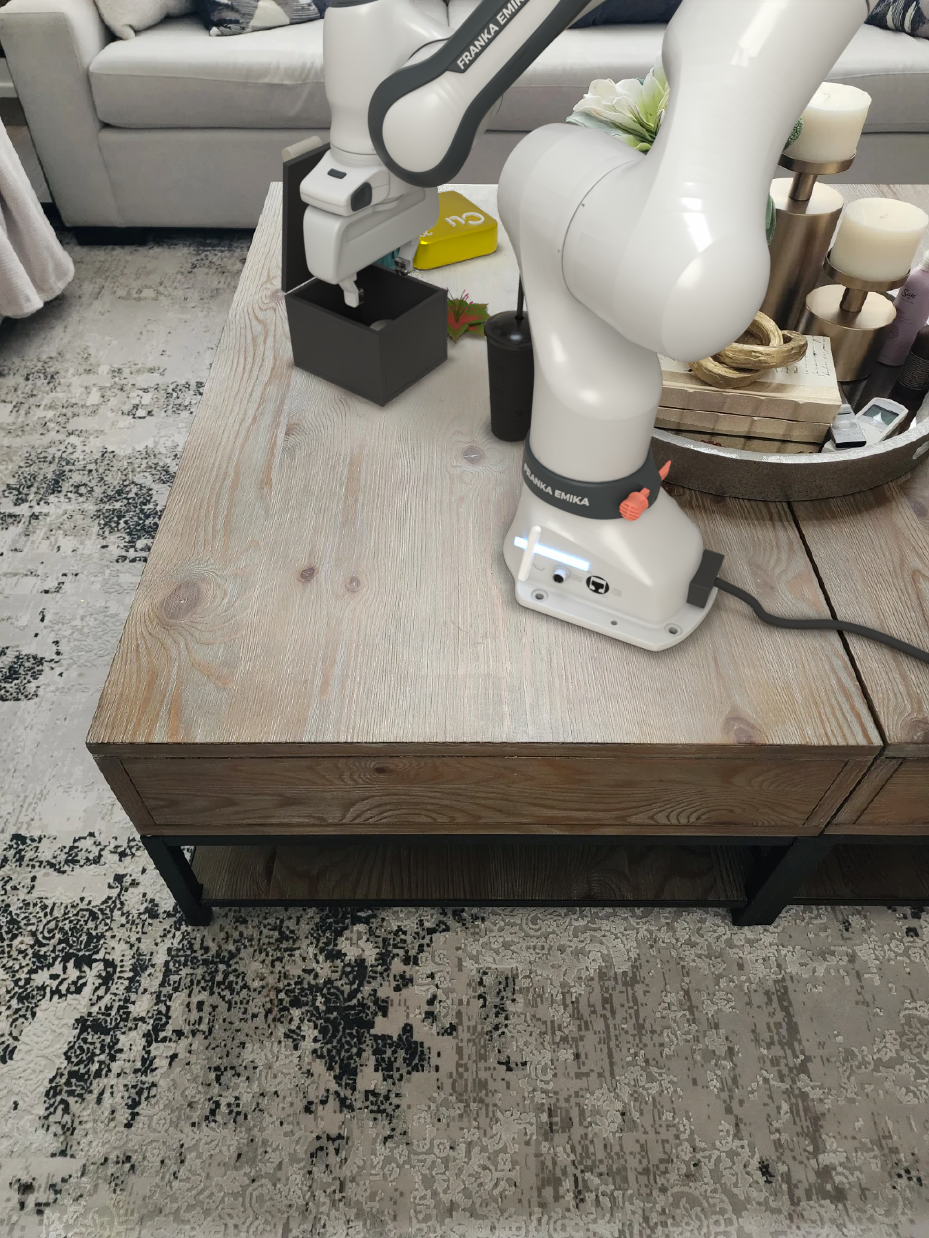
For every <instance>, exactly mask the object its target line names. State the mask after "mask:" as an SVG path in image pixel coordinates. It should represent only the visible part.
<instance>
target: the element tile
mask: <svg viewBox="0 0 929 1238" xmlns="http://www.w3.org/2000/svg"><path fill="white" fill-rule="evenodd" d="M438 196H439V217H438V220H437V223H436V225H435V226H434V227H433V228H431V229H429V230H427V231H426V232H424V233H422V234H421V235H419V244H418V247H417V250H416V252H415V255H414V258H413V268H415V269H418V270H424V271H425V270H431V269H435V268H439V267H443V266H448V265H452V264H455V263H459V262H462V261H467V260H470V259H475V258H478V257H482V256H486V255H490V254H493V253H495V252H496V250H497V248H498V235H499V223H498V221H497V220H496V219H495V218H494V217H492V216H491V215H490V214H488V213H487V212H486V211H484V210H483V209H481V208H480V207H479V206H478V205H476V204H475V203H474V202H473V201H471V200H470V199H468V198H467V197H466V196H464V195H463V194H462V193H460V192H458V191H456V190H446V191H441V192H438Z"/></svg>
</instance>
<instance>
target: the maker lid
mask: <svg viewBox="0 0 929 1238" xmlns="http://www.w3.org/2000/svg"><path fill="white" fill-rule="evenodd" d="M330 149H331V147H330V141H329V142H326V143H323V141H322V139H321V138H320V137H319V136H318V135H312V136H310V137H308V138H305V139H303V140H301V141H298V142H296V143H294V144H292V145H289V146H287V147H285V148H283V149H282V151H281V157H282V160H283V162H282V201H281V202H282V204H281V205H282V206H281V212H282V213H281V272H280V273H281V274H280V275H281V277H280V280H281V281H280V285H281V286H280V290H281V292H282V293H284V294H288V293H290V292H291V291H293V290H295V289H297V288H298V287H300V286H302V285H304V284H306V283H307V281H309V280H310V279H312V278H314V277H315V276H314V275H313V274H312V273H311V272H310V271H309V269H308V265H307V260H306V253H305V243H304V230H303V221H304V215H305V211H306V209H307V207H308V206H309V205H310V204H308V203H306V202H304V201H303V200H302V199H301V195H300V184H301V182H302V181H303V180H304V178H305V177H306V176H307V175H308V174H309V173H310V172H311V171H312V170H313V169H314V168H315V167H316V166H317V164H318V163H319V162H320V161H321V159H322V158H323V157H324V155H325V154H326V152H327V151H328V150H330Z"/></svg>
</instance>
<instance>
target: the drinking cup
mask: <svg viewBox="0 0 929 1238" xmlns="http://www.w3.org/2000/svg"><path fill="white" fill-rule="evenodd" d="M518 275H519V276H518V287H517V288H518V289H517V302H516V303H517V304H516V310H515V309H513V310H505V311H501V312H497V313H495V314H493V315H490V316H491V317H490V318H489V319H488V320H487V321H484V322H485V323H484V324H483V325H484V334H485V336H484V337H485V338H486V354H487V371H488V372H487V374H488V390H489V391H488V392H489V409H490V426H491V427H490V428H491V429H490V430H491V433H492V434H493V436H494V437H495V438H497V439H499V440H500V441H504V442H507V443H510V442H511V443H515V442H516V443H517V442H521V441H525V438H526V435H527V432H528V431H529V429H530V428H531V417H532V404H533V390H534V354H533V346H532V338H531V332H530V325H529V320H528V314H527V310H524V304H525V297H524V292H523V287H522V281H521V276H520V272H519V273H518Z"/></svg>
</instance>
